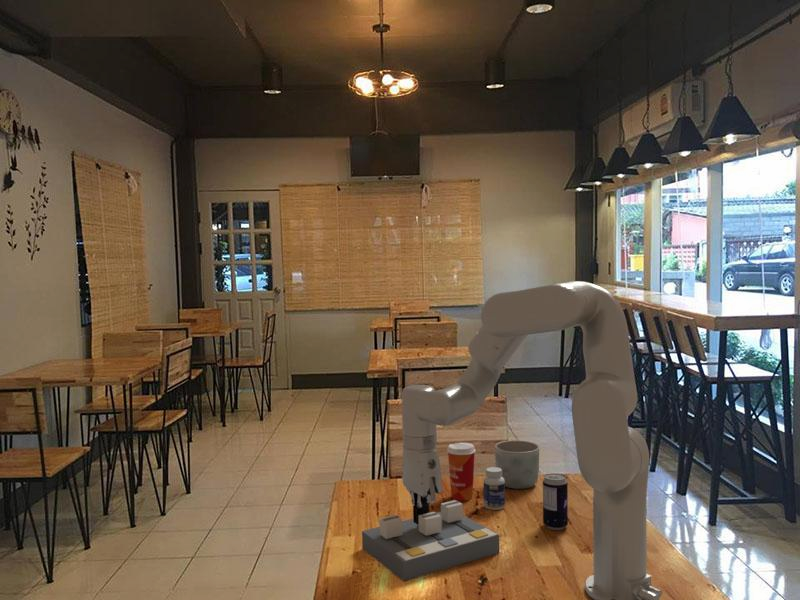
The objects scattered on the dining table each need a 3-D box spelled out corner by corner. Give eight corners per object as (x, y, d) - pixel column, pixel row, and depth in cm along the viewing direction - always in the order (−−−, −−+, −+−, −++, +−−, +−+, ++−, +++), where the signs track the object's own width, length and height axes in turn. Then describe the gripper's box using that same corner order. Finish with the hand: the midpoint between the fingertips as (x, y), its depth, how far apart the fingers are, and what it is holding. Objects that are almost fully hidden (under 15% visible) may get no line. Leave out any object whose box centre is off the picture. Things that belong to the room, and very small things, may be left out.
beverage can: (568, 532, 156) (568, 481, 155) (543, 530, 157) (542, 480, 156) (567, 522, 161) (566, 473, 160) (543, 521, 162) (542, 472, 162)
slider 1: (402, 534, 145) (402, 518, 145) (386, 539, 143) (385, 522, 143) (395, 530, 148) (395, 513, 148) (379, 534, 146) (379, 517, 146)
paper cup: (442, 495, 182) (441, 444, 181) (467, 490, 185) (466, 440, 184) (456, 504, 174) (455, 451, 174) (482, 499, 178) (481, 447, 177)
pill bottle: (488, 511, 169) (488, 473, 169) (480, 504, 174) (480, 467, 174) (508, 509, 171) (508, 471, 170) (499, 502, 176) (499, 465, 175)
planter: (492, 490, 185) (492, 451, 184) (497, 476, 197) (496, 439, 196) (539, 493, 182) (538, 453, 181) (540, 478, 194) (540, 441, 193)
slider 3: (462, 519, 153) (462, 503, 153) (448, 522, 151) (448, 506, 151) (455, 514, 156) (455, 499, 156) (440, 518, 154) (440, 502, 154)
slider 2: (441, 531, 146) (441, 515, 146) (426, 535, 144) (425, 518, 144) (434, 527, 149) (433, 510, 149) (418, 531, 147) (418, 514, 147)
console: (499, 552, 145) (499, 532, 145) (403, 581, 133) (403, 559, 133) (451, 525, 161) (451, 506, 161) (362, 548, 149) (362, 528, 149)
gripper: (452, 446, 144) (454, 530, 145) (416, 431, 157) (418, 508, 158) (423, 452, 140) (424, 538, 142) (388, 436, 153) (390, 515, 154)
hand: (421, 522), depth 150 cm, fingers closed
